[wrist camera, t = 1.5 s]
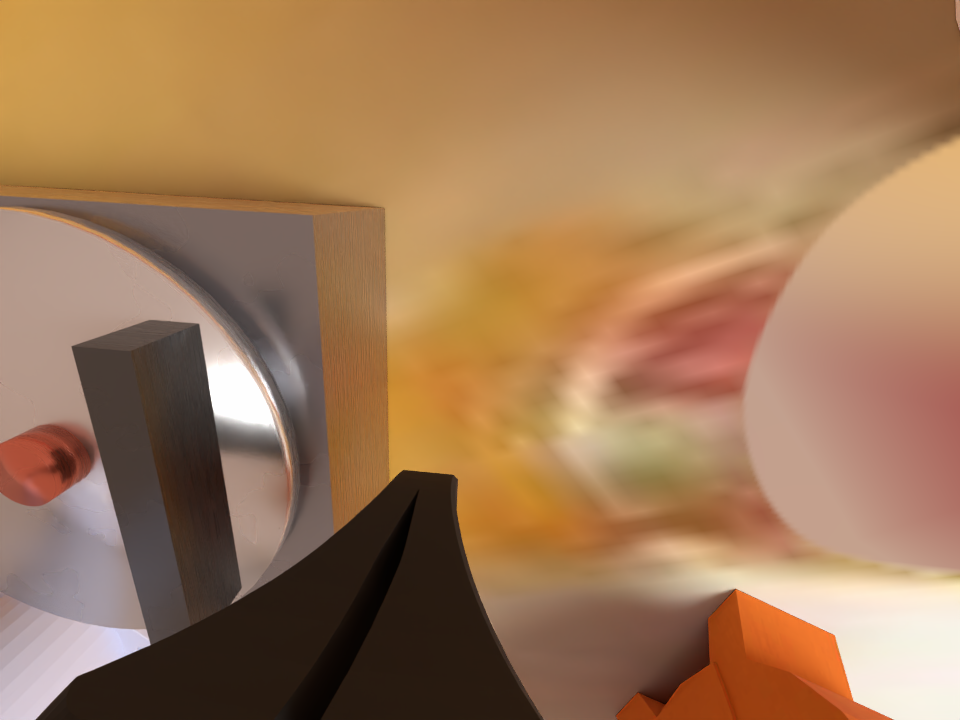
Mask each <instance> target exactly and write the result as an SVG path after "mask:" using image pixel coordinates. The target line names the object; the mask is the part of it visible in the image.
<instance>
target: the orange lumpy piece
mask: <svg viewBox="0 0 960 720" xmlns="http://www.w3.org/2000/svg"><path fill="white" fill-rule="evenodd" d="M708 632H709V656H710V664H709V665H708V666H706V667H705V668H703V669H702V670H701V671H699V672H698V673H696V674H695V675H693V676H692V677H690V678H689V679H687V680H686V681H684V682H683V683H681V684H680V685H679V687H678V688H677V689H676V691H675V692H674V694H673V695H672V696H671V698H670V699H669V701H668V702H667V703H666V705H665V704H663V703H661V702H658V701H656V700H654V699H652V698H649V697H647V696H645V695H642V694H640V693H638V692H637V694H636V695H635V696H634V697H633V698H632V699H631V700H630V701H629V702H628V703H627V704H626V705H625V707H624V708H623V709H622V710H621V711H620V712H619V713H618V714H617V715H616V717H617V719H618V720H893V719H891V718H889V717H887V716H884V715H882V714H880V713H878V712H876V711H873V710H871V709H869V708H867V707H865V706H863V705H860V704H858V703H856V702H854V701H853V698H852V695H851V691H850V688H849V684H848V681H847V677H846V674H845V670H844V667H843V663H842V660H841V656H840V653H839V649H838V646H837V642H836V639H835V635H833V634H830V633H828V632H826V631H824V630H822V629H820V628H818V627H816V626H813V625H811V624H809V623H807V622H805V621H803V620H801V619H799V618H796V617H794V616H792V615H790V614H788V613H786V612H784V611H782V610H779V609H777V608H775V607H773V606H771V605H769V604H767V603H765V602H762V601H760V600H758V599H756V598H754V597H752V596H750V595H748V594H745V593H743V592H741V591H739V590H737V589H735V590H734V592H733V593H732V594H731V595H730V596H729V597H728V598H727V599H726V600H725V601H724V602H723V603H722V604H721V605H720V606H719V607H718V608H717V609H716V611H715V612H714V613H713V614H712V615H711V616H710V617H709V618H708Z"/></svg>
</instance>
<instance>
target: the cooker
mask: <svg viewBox="0 0 960 720" xmlns="http://www.w3.org/2000/svg"><path fill="white" fill-rule="evenodd" d="M0 207H27V208H35V209H42V210H50V211H55V212H59V213H63V214H66V215H70V216H74V217H77V218H81V219H85V220H88V221H91V222H93V223H96V224H98V225H101V226H103V227H105V228H108V229H110V230H113V231H115V232H118V233H120V234H122V235H124V236H126V237H128V238H130V239H132V240H133V241H135V242H137V243H139V244H141V245H143V246H144V247H146V248H148V249H150V250H152V251H154V252H155V253H157V254H158V255H159V256H161V257H162V258H164V259H165V260H167V261H168V262H170V263H171V264H172V265H174V266H175V267H177V268H178V269H180V270H181V271H183V272H184V273H185V274H186V275H188V276H189V277H190V278H191V279H192V280H193V281H195V282H196V283H197V284H198V285H199V286H200V287H202V288H203V289H204V290H205V291H206V292H207V293H208V294H210V295H211V296H212V297H213V298H214V299H215V300H216V301H217V302H218V303H219V304H220V305H221V307H222V308H223V309H224V310H225V311H226V312H227V313H228V314H229V315H230V316H231V317H232V318H233V319H234V320H235V321H236V322H237V324H238V325H239V326H240V328H241V329H242V330H243V332H244V333H245V334H246V336H247V337H248V338H249V340H250V341H251V342H252V343H253V345H254V346H255V347H256V349H257V350H258V352H259V353H260V355H261V357H262V358H263V360H264V362H265V363H266V365H267V367H268V368H269V370H270V372H271V373H272V375H273V377H274V379H275V381H276V383H277V385H278V387H279V390H280V392H281V394H282V396H283V399H284V401H285V403H286V405H287V408H288V411H289V414H290V418H291V421H292V424H293V428H294V431H295V434H296V440H297V446H298V452H299V458H300V491H299V499H298V506H297V510H296V514H295V517H294V520H293V523H292V526H291V530H290V531H289V533H288V535H287V537H286V539H285V541H284V543H283V545H282V547H281V549H280V550H279V552H278V553H277V555H276V556H275V558H274V559H273V560H272V562H271V563H270V565H269V566H268V568H267V569H266V571H265V572H264V573H263V574H262V576H261V577H260V578H259V580H258V581H257V582H256V584H255V585H254V586H253V587H252V588H251V589H250V590H248V591H247V592H246V593H245V594H244V595H243V596H242V597H241V598H243V597H244V596H246V595H248V594H249V593H251V592H253V591H254V590H256V589H258V588H259V587H261V586H263V585H264V584H266V583H268V582H269V581H271V580H273V579H274V578H276V577H277V576H279V575H280V574H282V573H283V572H285V571H286V570H288V569H289V568H291V567H292V566H294V565H295V564H296V563H298V562H299V561H301V560H302V559H303V558H305V557H306V556H307V555H309V554H310V553H311V552H313V551H314V550H315V549H317V548H318V547H319V546H320V545H322V544H323V543H324V542H325V541H327V540H328V539H329V538H330V537H331V536H333V535H334V534H335V533H336V532H337V531H339V530H340V529H341V528H342V527H343V526H345V525H346V524H347V523H348V522H349V521H350V520H351V519H353V518H354V517H355V516H356V515H357V514H358V513H359V512H360V511H361V510H362V509H363V508H365V507H366V506H367V505H368V504H369V503H370V502H371V501H372V500H373V499H374V498H375V497H376V496H377V495H378V494H379V493H380V492H381V491H382V490H383V489H384V488H385V487H386V486H387V485H388V484H389V460H388V398H387V336H386V275H385V213H384V208H373V207H356V206H340V205H324V204H307V203H291V202H275V201H258V200H242V199H225V198H209V197H193V196H176V195H160V194H144V193H127V192H111V191H94V190H78V189H62V188H45V187H29V186H3V185H0ZM241 598H240V599H241ZM237 601H238V600H237ZM235 602H236V601H235ZM232 604H233V603H232Z"/></svg>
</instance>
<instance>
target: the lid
mask: <svg viewBox="0 0 960 720" xmlns="http://www.w3.org/2000/svg"><path fill="white" fill-rule="evenodd" d="M299 491H300V458H299V452H298V446H297V440H296V434H295V431H294V428H293V424H292V421H291V418H290V414H289V411H288V408H287V405H286V403H285V401H284V399H283V396H282V394H281V392H280V390H279V387H278V385H277V383H276V381H275V379H274V377H273V375H272V373H271V372H270V370H269V368H268V367H267V365H266V363H265V362H264V360H263V358H262V357H261V355H260V353H259V352H258V350H257V349H256V347H255V346H254V345H253V343H252V342H251V341H250V340H249V338H248V337H247V336H246V334H245V333H244V332H243V330H242V329H241V328H240V326H239V325H238V324H237V322H236V321H235V320H234V319H233V318H232V317H231V316H230V315H229V314H228V313H227V312H226V311H225V310H224V309H223V308H222V307H221V305H220V304H219V303H218V302H217V301H216V300H215V299H214V298H213V297H212V296H211V295H210V294H208V293H207V292H206V291H205V290H204V289H203V288H202V287H200V286H199V285H198V284H197V283H196V282H195V281H193V280H192V279H191V278H190V277H189V276H188V275H186V274H185V273H184V272H183V271H181V270H180V269H178V268H177V267H175V266H174V265H172V264H171V263H170V262H168V261H167V260H165V259H164V258H162V257H161V256H159V255H158V254H157V253H155V252H154V251H152V250H150V249H148V248H146V247H144V246H143V245H141V244H139V243H137V242H135V241H133V240H132V239H130V238H128V237H126V236H124V235H122V234H120V233H118V232H115V231H113V230H110V229H108V228H105V227H103V226H101V225H98V224H96V223H93V222H91V221H88V220H85V219H81V218H77V217H74V216H70V215H66V214H63V213H59V212H55V211H50V210H42V209H35V208H27V207H0V592H2V593H4V594H6V595H8V596H9V597H12V598H14V599H16V600H18V601H21V602H23V603H25V604H27V605H29V606H32V607H34V608H37V609H39V610H42V611H45V612H48V613H51V614H53V615H56V616H59V617H62V618H66V619H70V620H74V621H78V622H81V623H85V624H91V625H97V626H103V627H109V628H120V629H134V630H136V629H146V630H147V633H148V637H149V641H150V645H152V644H154V643H156V642H158V641H160V640H162V639H165V638H167V637H169V636H171V635H173V634H175V633H177V632H179V631H181V630H183V629H185V628H187V627H189V626H191V625H193V624H195V623H197V622H199V621H201V620H203V619H205V618H207V617H209V616H211V615H212V614H214V613H216V612H218V611H220V610H222V609H224V608H226V607H227V606H229V605H231V604H232V603H234V602H235V601H237V600H239V599H240V598H241V597H242V596H243V595H244V594H245V593H246V592H247V591H248V590H250V589H251V588H252V587H253V586H254V585H255V584H256V582H257V581H258V580H259V578H260V577H261V576H262V574H263V573H264V572H265V571H266V569H267V568H268V566H269V565H270V563H271V562H272V560H273V559H274V558H275V556H276V555H277V553H278V552H279V550H280V549H281V547H282V545H283V543H284V541H285V539H286V537H287V535H288V533H289V531H290V530H291V526H292V523H293V520H294V517H295V514H296V510H297V506H298V499H299Z"/></svg>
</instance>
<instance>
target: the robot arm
mask: <svg viewBox="0 0 960 720" xmlns="http://www.w3.org/2000/svg"><path fill="white" fill-rule="evenodd" d="M457 487H458V479H457V478H456V477H455V476H454V475H449V474H439V473H428V472H418V471H408V470H403V471H402V472H400V473H399V474H398V475H397V476H396V477H395V478H394V479H393V480H392V481H391V482H390V483H389V484H388V485H387V486H386V487H385V488H384V489H383V490H382V491H381V492H380V493H379V494H378V495H377V496H376V497H375V498H374V499H373V500H372V501H371V502H370V503H369V504H368V505H367V506H366V507H365V508H363V509H362V510H361V511H360V512H359V513H358V514H357V515H356V516H355V517H354V518H353V519H351V520H350V521H349V522H348V523H347V524H346V525H345V526H343V527H342V528H341V529H340V530H339V531H337V532H336V533H335V534H334V535H333V536H331V537H330V538H329V539H328V540H327V541H325V542H324V543H323V544H322V545H320V546H319V547H318V548H317V549H315V550H314V551H313V552H311V553H310V554H309V555H307V556H306V557H305V558H303V559H302V560H301V561H299V562H298V563H296V564H295V565H294V566H292V567H291V568H289V569H288V570H286V571H285V572H283V573H282V574H280V575H279V576H277V577H276V578H274V579H273V580H271V581H269V582H268V583H266V584H264V585H263V586H261V587H259V588H258V589H256V590H254V591H253V592H251V593H249V594H248V595H246V596H244V597H243V598H241V599H239V600H238V601H236V602H234V603H233V604H231V605H229V606H227V607H226V608H224V609H222V610H220V611H218V612H216V613H214V614H212V615H211V616H209V617H207V618H205V619H203V620H201V621H199V622H197V623H195V624H193V625H191V626H189V627H187V628H185V629H183V630H181V631H179V632H177V633H175V634H173V635H171V636H169V637H167V638H165V639H162V640H160V641H158V642H156V643H154V644H152V645H150V641H149V637H148V633H147V630H146V629H136V630H134V629H120V628H109V627H103V626H97V625H91V624H85V623H81V622H78V621H74V620H70V619H66V618H62V617H59V616H56V615H53V614H51V613H48V612H45V611H42V610H39V609H37V608H34V607H32V606H29V605H27V604H25V603H23V602H21V601H18V600H16V599H14V598H12V597H9V596H8V595H6V594H4V593H2V592H0V720H544V719H543V718H542V716H541V715H540V713H539V712H538V710H537V708H536V707H535V705H534V703H533V702H532V700H531V699H530V697H529V695H528V694H527V692H526V690H525V689H524V687H523V685H522V683H521V681H520V680H519V678H518V676H517V674H516V673H515V671H514V669H513V667H512V665H511V664H510V662H509V660H508V658H507V656H506V654H505V652H504V650H503V648H502V645H501V643H500V641H499V639H498V637H497V635H496V633H495V631H494V629H493V627H492V625H491V623H490V621H489V618H488V616H487V614H486V611H485V609H484V606H483V604H482V602H481V599H480V596H479V594H478V591H477V588H476V586H475V583H474V580H473V577H472V574H471V571H470V568H469V564H468V561H467V557H466V554H465V550H464V546H463V542H462V538H461V533H460V528H459V523H458V517H457Z"/></svg>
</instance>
